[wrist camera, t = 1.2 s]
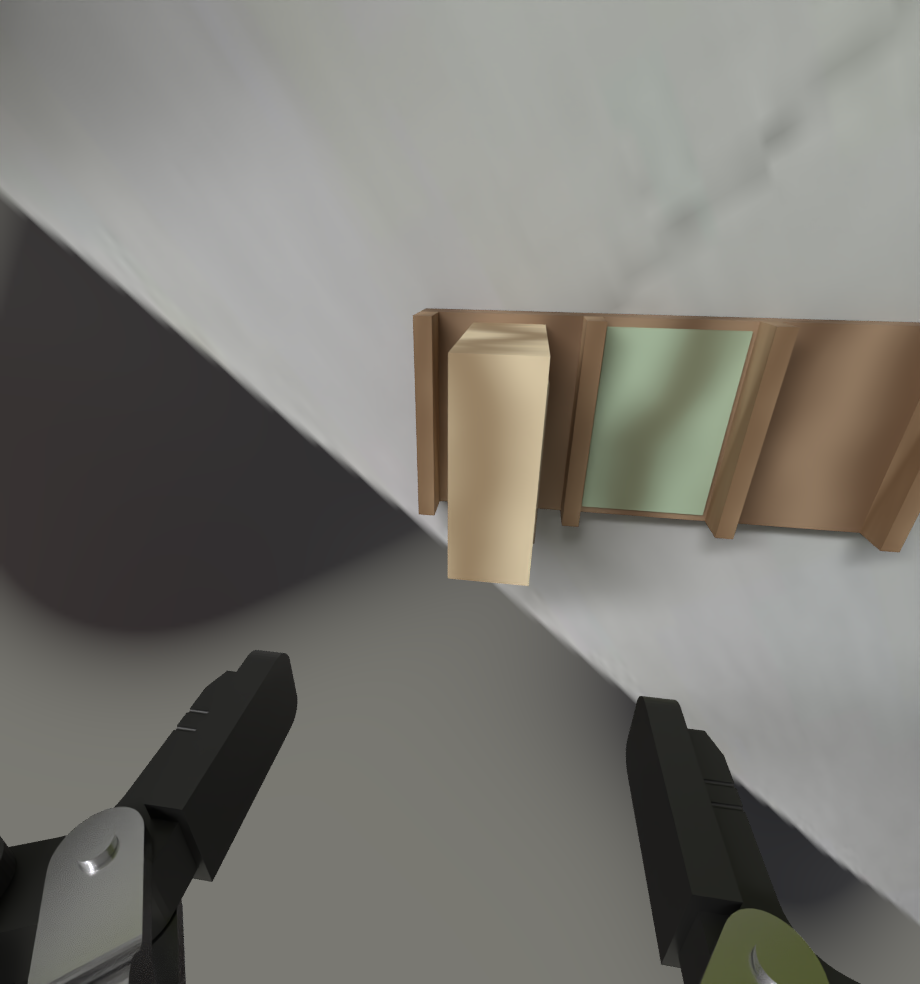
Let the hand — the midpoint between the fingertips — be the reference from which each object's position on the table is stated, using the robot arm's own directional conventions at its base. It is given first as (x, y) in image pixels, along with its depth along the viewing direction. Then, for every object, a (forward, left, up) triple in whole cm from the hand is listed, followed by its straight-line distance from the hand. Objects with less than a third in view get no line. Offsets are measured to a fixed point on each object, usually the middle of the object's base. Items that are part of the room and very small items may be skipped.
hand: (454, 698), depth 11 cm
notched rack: (-9, 0, -22) cm, 24 cm away
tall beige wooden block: (0, 0, -21) cm, 21 cm away
